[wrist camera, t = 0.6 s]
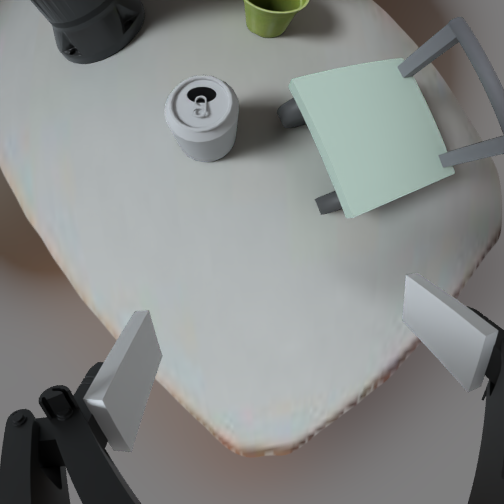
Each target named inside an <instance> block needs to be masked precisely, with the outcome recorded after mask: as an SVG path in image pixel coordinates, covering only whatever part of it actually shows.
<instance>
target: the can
mask: <svg viewBox="0 0 504 504" xmlns="http://www.w3.org/2000/svg"><path fill="white" fill-rule="evenodd" d="M238 114H239V104H238V98H237V96H236V94H235V92H234V90H233V89H232V88H231V87H230V86H229V85H228V84H227V83H226V82H224V81H222V80H220V79H218V78H216V77H214V76H208V75H198V76H192V77H190V78H187V79H185V80H183V81H182V82H181V83H179V84H178V85H177V86H176V87H175V88H174V90H173V91H172V92H171V94H170V95H169V96H168V98H167V102H166V105H165V119H166V121H167V124H168V126H169V128H170V130H171V132H172V133H173V135H174V137H175V139H176V140H177V142H178V144H179V146H180V147H181V149H182V151H183V152H184V153H185V154H186V155H187V156H188V157H190V158H192V159H194V160H196V161H201V162H211V161H215V160H218V159H220V158H222V157H223V156H225V155H226V154H227V153H228V152H229V151H230V150H231V148H232V147H233V145H234V142H235V138H236V132H237V123H238Z"/></svg>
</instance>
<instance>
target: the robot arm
mask: <svg viewBox="0 0 504 504" xmlns="http://www.w3.org/2000/svg"><path fill="white" fill-rule="evenodd" d="M31 2H32V3H33V4H34V5H35V6H36V7H37V8H38V10H39V11H40V12H41V13H42V14H43V15H44V16H45V17H46V19H47V20H48V21H49V22H50V23H51V24H52V26H53V31H54V35H55V40H56V44H57V47H58V49H59V51H60V52H61V53H62V54H63V55H64V56H65V58H67V59H68V60H69V61H71V62H74V63H79V64H85V63H92V62H96V61H99V60H102V59H104V58H107V57H109V56H111V55H113V54H114V53H116V52H117V51H119V50H120V49H122V48H123V47H124V46H126V45H127V44H128V43H129V42H130V41H131V40H132V39H133V38H134V37H135V35H136V34H137V33H138V31H139V30H140V28H141V26H142V24H143V21H144V16H145V13H144V8H143V5H142V2H141V0H31ZM402 321H403V322H404V323H405V324H406V325H407V326H408V328H409V329H410V330H411V331H412V332H413V333H414V334H415V335H416V336H417V337H418V338H419V339H420V340H421V341H422V342H423V343H424V344H425V345H426V347H427V348H428V349H429V350H430V351H431V352H432V353H433V354H434V355H435V356H436V357H437V358H438V359H439V361H440V362H441V363H442V364H443V365H444V366H445V367H446V368H447V370H448V371H449V372H450V373H451V374H452V375H453V376H454V377H455V378H456V380H457V381H458V382H459V383H460V384H461V385H462V386H463V387H464V389H465V390H466V391H467V392H470V391H472V390H474V389H477V388H478V387H480V386H481V384H482V382H483V379H484V376H485V375H486V376H487V377H488V378H489V382H488V385H487V387H486V390H485V392H484V395H483V397H482V400H484V398H485V397H486V407H485V417H484V426H483V434H482V441H481V447H480V453H479V458H478V463H477V468H476V473H475V478H474V482H473V486H472V490H471V494H470V497H469V501H468V504H504V330H503V329H501V328H500V327H499V326H498V325H496V324H495V323H494V322H492V321H491V320H489V319H488V318H487V317H485V316H483V314H481V313H480V312H479V311H477V310H475V309H473V308H470V307H468V306H465V305H463V304H462V303H461V302H459V301H458V300H457V299H455V298H454V297H452V296H451V295H450V294H448V293H447V292H445V291H444V290H442V289H441V288H440V287H438V286H437V285H435V284H434V283H432V282H431V281H429V280H428V279H427V278H425V277H424V276H422V275H421V274H419V273H418V272H417V273H412V274H406V279H405V293H404V305H403V315H402ZM161 358H162V353H161V350H160V347H159V344H158V340H157V337H156V333H155V330H154V327H153V323H152V319H151V316H150V312H149V310H145V311H135V312H134V314H133V315H132V317H131V318H130V320H129V322H128V323H127V325H126V326H125V328H124V330H123V331H122V333H121V335H120V336H119V338H118V340H117V341H116V343H115V345H114V346H113V348H112V349H111V351H110V353H109V355H108V356H107V358H106V360H105V361H104V362H98V363H96V364H95V365H94V366H93V367H92V368H90V370H89V371H88V373H87V374H86V376H85V378H84V379H83V381H82V382H81V383H82V384H80V386H79V387H78V389H77V391H76V393H75V394H74V396H73V395H72V393H71V391H70V390H69V388H68V387H66V386H63V385H59V386H58V385H57V386H53V387H50V388H49V389H47V390H45V391H44V392H43V393H42V394H41V396H40V398H39V404H40V406H41V407H42V409H43V411H44V412H45V414H46V416H47V417H46V418H37V419H36V418H35V417H34V415H33V414H32V413H31V411H29V410H27V409H21V410H18V411H15V412H13V413H12V414H11V415H10V416H9V417H8V419H7V422H6V427H5V433H4V440H3V447H2V455H1V464H0V504H70V499H69V492H68V484H67V476H66V468H67V470H68V473H69V475H70V477H71V480H72V482H73V484H74V487H75V489H76V491H77V493H78V495H79V497H80V499H81V501H82V503H83V504H141V503H140V501H139V500H138V498H137V497H136V496H135V494H134V493H133V491H132V490H131V489H130V487H129V486H128V484H127V483H126V481H125V480H124V478H123V477H122V475H121V474H120V472H119V470H118V469H117V467H116V466H115V464H114V463H113V461H112V459H111V458H110V456H109V454H108V453H107V451H106V450H105V447H106V444H107V442H109V444H110V446H111V447H112V449H113V450H114V451H125V452H132V449H133V445H134V442H135V439H136V435H137V432H138V429H139V426H140V422H141V419H142V416H143V413H144V410H145V407H146V403H147V400H148V397H149V394H150V391H151V388H152V385H153V382H154V379H155V376H156V373H157V370H158V367H159V364H160V361H161Z"/></svg>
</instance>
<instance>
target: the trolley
mask: <svg viewBox="0 0 504 504" xmlns="http://www.w3.org/2000/svg"><path fill="white" fill-rule="evenodd" d="M458 42H460V44H461V46H462V47H463V49H464V51H465V52H466V54H467V56H468V58H469V60H470V61H471V63H472V65H473V67H474V69H475V71H476V73H477V75H478V77H479V79H480V81H481V83H482V85H483V87H484V89H485V91H486V93H487V95H488V98H489V100H490V102H491V104H492V107H493V109H494V111H495V114H496V116H497V118H498V121H499V124H500V126H501V129H502V132H503V134H504V89H503V87H502V85H501V83H500V81H499V79H498V77H497V75H496V73H495V71H494V69H493V67H492V65H491V63H490V61H489V60H488V58H487V56H486V54H485V52H484V51H483V49H482V47H481V45H480V44H479V42H478V40H477V39H476V37H475V35H474V34H473V32H472V31H471V29H470V27H469V26H468V24H467V23H466V21H465V20H464V18H463V17H457V18H454V19H452V20H451V21H449V23H448V24H447V25H446V26H445V27H443V28H442V29H441V30H440V31H439V32H437V33H436V34H435V35H434V36H433V37H431V38H430V39H429V40H428V41H427V42H426V43H424V44H423V45H422V46H421V47H420V48H418V49H417V50H416V51H415V52H414V53H413V54H411V55H410V56H409V57H408V58H407V59H406V60H405V61H404V59H403V58H397V59H389V60H382V61H375V62H369V63H363V64H357V65H352V66H346V67H341V68H336V69H332V70H327V71H323V72H318V73H314V74H310V75H306V76H302V77H298V78H294V79H292V80H291V82H290V84H289V86H288V87H289V89H290V91H291V93H292V95H293V97H294V98H293V99H291V100H289V101H287V102H286V103H284V104H283V105H282V106H281V107H280V108H279V109H278V110H277V114H278V116H279V118H280V120H281V122H282V124H283V126H284V127H285V128H292V127H297V126H300V125H304V124H307V126H308V128H309V130H310V133H311V135H312V137H313V139H314V141H315V144H316V146H317V148H318V150H319V153H320V155H321V157H322V160H323V162H324V164H325V167H326V169H327V171H328V174H329V176H330V179H331V181H332V183H333V186H334V188H335V191H334V192H331V193H329V194H326V195H324V196H321V197H319V198H317V199H315V201H316V203H317V206H318V208H319V211H320V213H321V215H322V214H327V213H330V212H333V211H336V210H339V209H343V211H344V214H345V217H346V218H354V217H356V216H358V215H361V214H363V213H365V212H368V211H370V210H372V209H375V208H377V207H379V206H382V205H384V204H386V203H389V202H391V201H393V200H395V199H398V198H400V197H402V196H405V195H407V194H409V193H411V192H414V191H416V190H418V189H421V188H423V187H425V186H427V185H430V184H432V183H434V182H437V181H439V180H441V179H443V178H446V177H448V176H450V175H453V174H455V172H454V169H453V165H457V164H461V163H465V162H469V161H474V160H478V159H482V158H487V157H491V156H495V155H500V154H504V135H503V136H500V137H496V138H493V139H489V140H486V141H483V142H479V143H476V144H472V145H469V146H466V147H462V148H459V149H456V150H452V151H449V152H447V150H446V147H445V144H444V142H443V139H442V137H441V134H440V132H439V130H438V127H437V125H436V123H435V120H434V118H433V116H432V114H431V111H430V109H429V107H428V105H427V103H426V101H425V99H424V97H423V95H422V93H421V91H420V89H419V87H418V85H417V83H416V81H415V79H414V77H413V75H414V74H416V73H417V72H418V71H420V70H421V69H422V68H424V67H425V66H427V65H428V64H429V63H431V62H432V61H433V60H434V59H436V58H437V57H438V56H440V55H441V54H443V53H444V52H445V51H447V50H448V49H450V48H451V47H452V46H454V45H455V44H457V43H458Z"/></svg>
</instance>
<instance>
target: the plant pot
mask: <svg viewBox="0 0 504 504" xmlns="http://www.w3.org/2000/svg"><path fill="white" fill-rule="evenodd" d="M243 1H244V4H245V14H246V24H247V27H248V29H249V30H250V31H251V32H253V33H255V34H257V35H259V36H261V37H266V38H271V37H276V36H279V35H281V34H282V33H283V32H284V31H285V30H286V28H287V27H288V25H289V23H290V22H291V20H292V19H293V17H294V16H295V14H296V13H298V12H299V11H300V10H302V9H303V8H305V7H306V6H307V4H308V2H309V0H243Z"/></svg>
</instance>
